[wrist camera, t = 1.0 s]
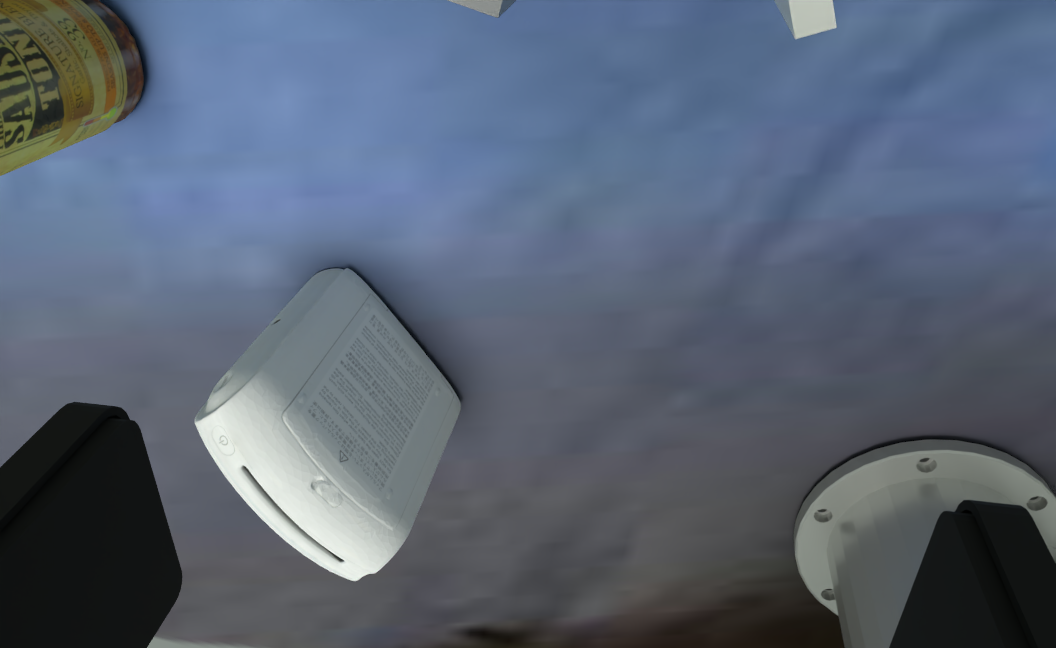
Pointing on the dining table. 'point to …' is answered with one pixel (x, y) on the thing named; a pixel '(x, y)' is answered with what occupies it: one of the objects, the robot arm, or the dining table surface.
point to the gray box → (487, 5)
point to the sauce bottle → (62, 76)
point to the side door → (807, 16)
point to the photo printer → (332, 425)
